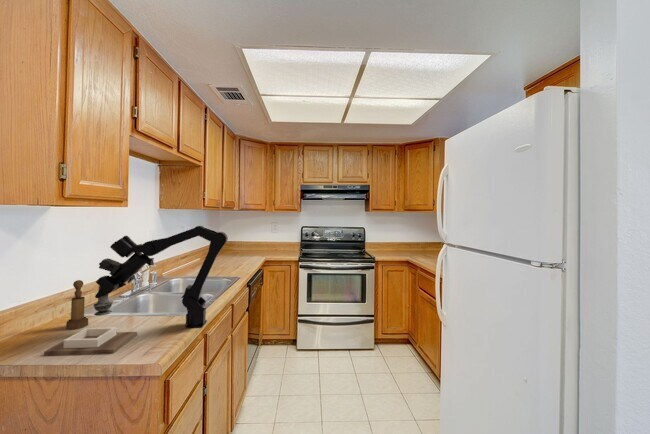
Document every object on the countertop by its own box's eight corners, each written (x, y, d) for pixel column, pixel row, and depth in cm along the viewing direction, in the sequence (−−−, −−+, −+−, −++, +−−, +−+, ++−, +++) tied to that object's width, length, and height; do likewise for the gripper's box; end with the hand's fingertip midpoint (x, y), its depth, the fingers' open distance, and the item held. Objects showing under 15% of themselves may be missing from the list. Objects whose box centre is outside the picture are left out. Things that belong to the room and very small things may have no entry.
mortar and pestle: (84, 328, 110) (85, 281, 110) (62, 330, 107) (63, 282, 107) (90, 322, 116) (91, 278, 116) (70, 324, 114) (71, 279, 114)
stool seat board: (137, 335, 105) (137, 325, 105) (113, 353, 91) (113, 341, 91) (77, 336, 103) (78, 326, 103) (44, 355, 89) (44, 343, 89)
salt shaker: (116, 310, 111) (116, 280, 111) (103, 316, 105) (104, 283, 105) (102, 310, 111) (102, 279, 111) (88, 315, 105) (89, 283, 105)
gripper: (126, 248, 118) (95, 276, 115) (102, 254, 100) (65, 287, 97) (147, 267, 120) (117, 294, 117) (128, 276, 102) (91, 309, 99)
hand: (99, 296), depth 108 cm, fingers closed on salt shaker, 4 cm apart
